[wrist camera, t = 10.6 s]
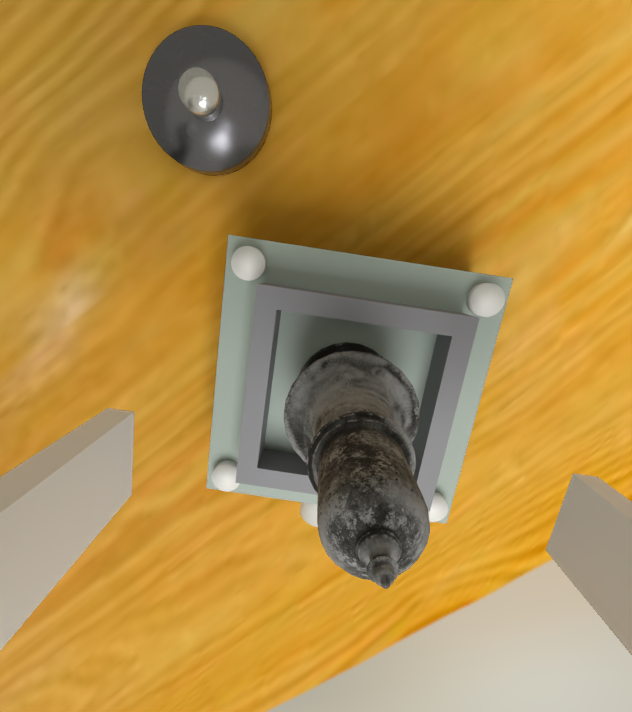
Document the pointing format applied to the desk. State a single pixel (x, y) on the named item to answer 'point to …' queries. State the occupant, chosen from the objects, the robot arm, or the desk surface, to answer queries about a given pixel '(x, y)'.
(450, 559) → the desk surface
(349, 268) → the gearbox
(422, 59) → the desk surface
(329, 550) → the dark metal chess piece
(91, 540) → the robot arm
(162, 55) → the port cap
